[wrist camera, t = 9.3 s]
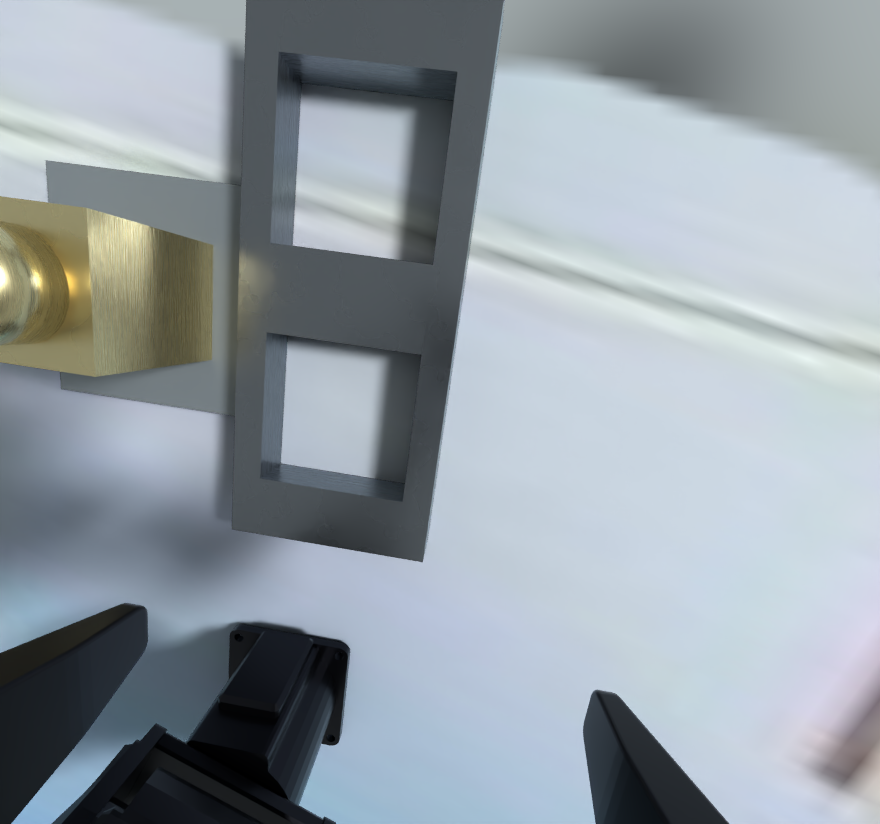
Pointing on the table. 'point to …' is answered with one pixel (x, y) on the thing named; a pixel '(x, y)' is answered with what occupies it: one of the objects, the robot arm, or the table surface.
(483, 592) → the table surface
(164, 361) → the brass cube with knob
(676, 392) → the table surface
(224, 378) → the mat
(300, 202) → the table surface
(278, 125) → the rectangular frame with openings
